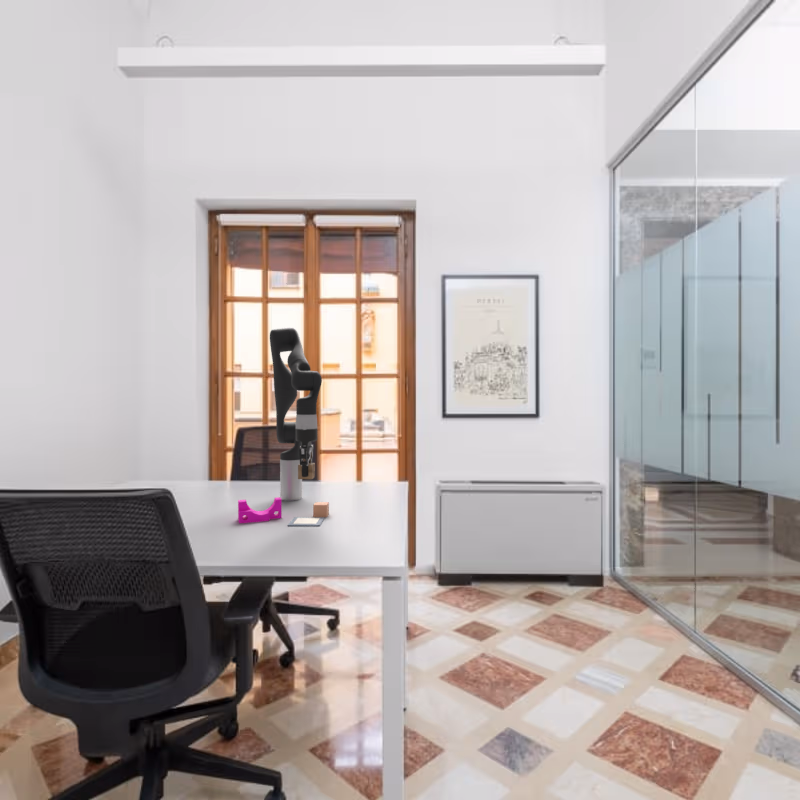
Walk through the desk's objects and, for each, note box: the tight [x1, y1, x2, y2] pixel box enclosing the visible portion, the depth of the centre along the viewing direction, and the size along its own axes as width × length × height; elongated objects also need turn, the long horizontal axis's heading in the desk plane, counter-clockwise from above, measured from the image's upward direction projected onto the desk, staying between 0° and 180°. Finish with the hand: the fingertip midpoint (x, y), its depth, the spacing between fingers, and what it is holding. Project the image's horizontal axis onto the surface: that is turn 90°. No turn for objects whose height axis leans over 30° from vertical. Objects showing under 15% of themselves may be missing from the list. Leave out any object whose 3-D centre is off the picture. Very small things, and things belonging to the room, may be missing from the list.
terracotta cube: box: [312, 501, 330, 518], centre depth 198 cm, size 5×5×5 cm
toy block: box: [237, 496, 283, 524], centre depth 192 cm, size 15×6×8 cm, turn 110°
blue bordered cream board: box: [287, 516, 326, 527], centre depth 188 cm, size 11×11×1 cm
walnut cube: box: [298, 462, 316, 480], centre depth 188 cm, size 5×5×5 cm
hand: (306, 475), depth 188 cm, fingers closed on walnut cube, 5 cm apart
